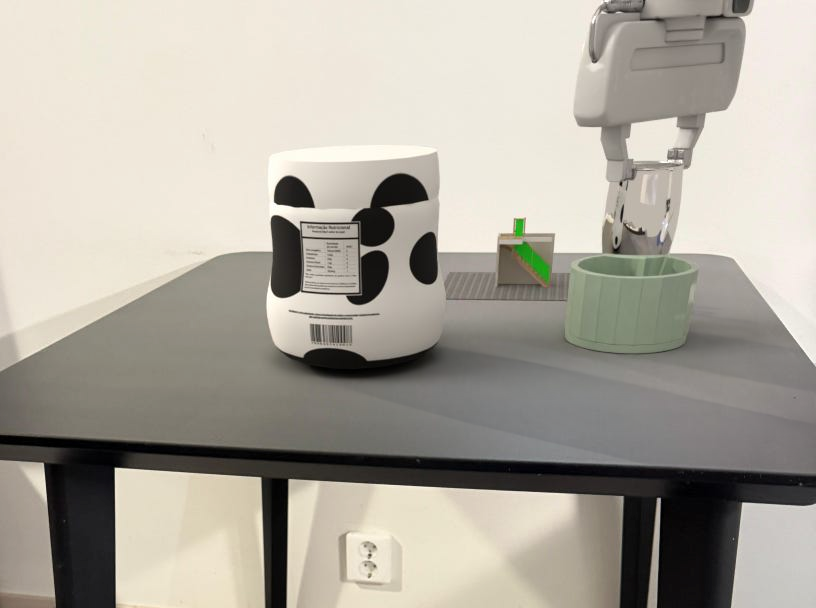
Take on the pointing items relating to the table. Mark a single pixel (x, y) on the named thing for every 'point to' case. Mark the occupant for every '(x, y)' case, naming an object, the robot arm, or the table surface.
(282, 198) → the milk container
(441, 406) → the table surface
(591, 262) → the ceramic cup
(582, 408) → the table surface
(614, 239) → the beer glass
